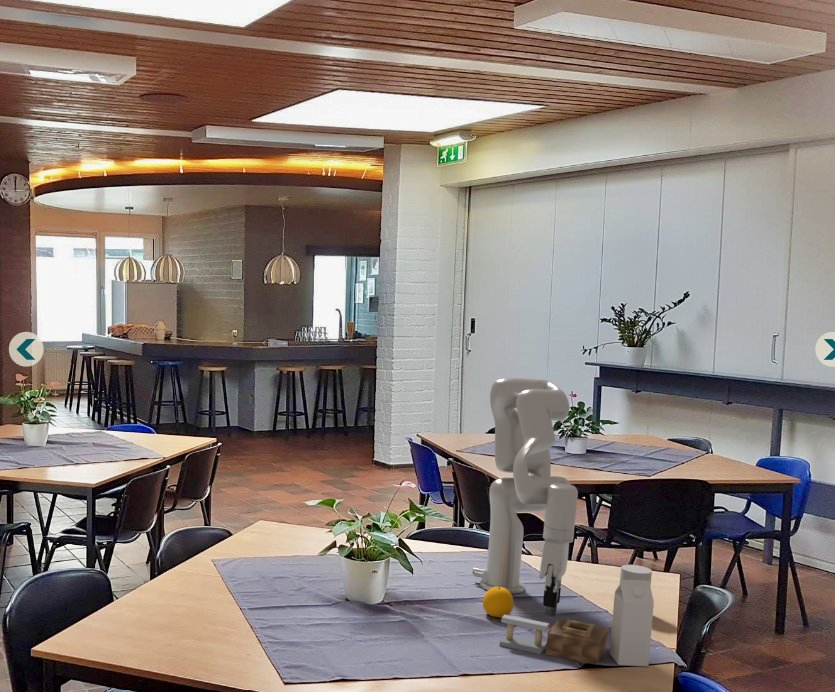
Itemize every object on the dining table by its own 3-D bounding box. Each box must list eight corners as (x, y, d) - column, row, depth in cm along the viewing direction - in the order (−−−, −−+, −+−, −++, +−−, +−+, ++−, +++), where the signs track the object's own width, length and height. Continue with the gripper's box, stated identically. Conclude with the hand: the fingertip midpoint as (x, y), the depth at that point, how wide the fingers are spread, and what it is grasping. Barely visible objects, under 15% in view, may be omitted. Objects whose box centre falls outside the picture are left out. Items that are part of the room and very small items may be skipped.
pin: (542, 614, 237) (546, 576, 236) (545, 611, 240) (549, 572, 239) (554, 617, 236) (558, 578, 235) (557, 613, 239) (561, 575, 238)
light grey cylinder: (648, 619, 251) (652, 575, 251) (617, 615, 253) (621, 571, 253) (647, 610, 259) (651, 567, 259) (617, 606, 261) (620, 563, 260)
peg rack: (497, 645, 224) (499, 619, 223) (504, 637, 229) (506, 612, 229) (542, 654, 220) (544, 628, 219) (549, 646, 225) (551, 621, 225)
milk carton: (609, 654, 223) (616, 575, 222) (638, 655, 224) (645, 576, 223) (618, 665, 216) (625, 584, 215) (648, 667, 217) (655, 585, 216)
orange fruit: (515, 613, 248) (518, 585, 248) (508, 622, 240) (511, 593, 240) (486, 608, 251) (488, 580, 250) (478, 617, 243) (480, 588, 243)
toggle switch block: (545, 653, 220) (547, 628, 220) (557, 638, 231) (559, 614, 231) (597, 664, 216) (599, 639, 216) (606, 648, 227) (609, 623, 227)
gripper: (551, 523, 245) (544, 591, 247) (535, 538, 230) (527, 611, 232) (580, 528, 243) (572, 597, 244) (565, 544, 227) (557, 617, 229)
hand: (551, 603), depth 238 cm, fingers closed on pin, 3 cm apart
